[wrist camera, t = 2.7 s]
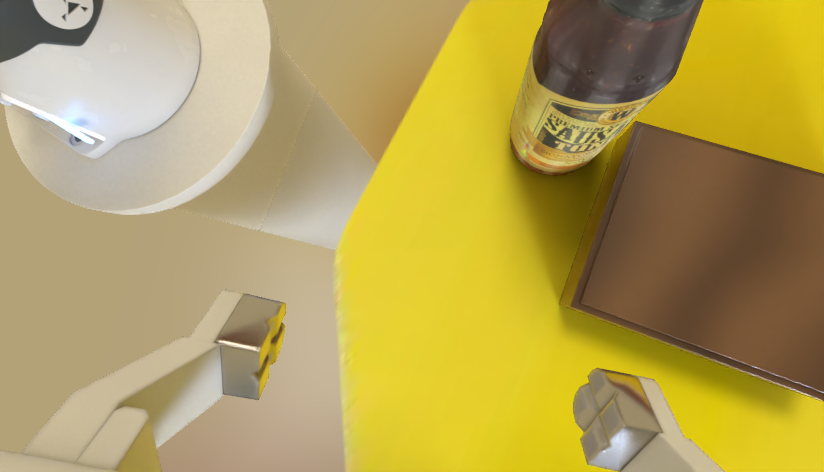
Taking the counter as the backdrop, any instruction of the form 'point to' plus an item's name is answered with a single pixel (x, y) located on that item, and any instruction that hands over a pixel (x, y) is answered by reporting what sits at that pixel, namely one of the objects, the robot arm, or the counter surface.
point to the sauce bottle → (594, 76)
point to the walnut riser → (708, 255)
